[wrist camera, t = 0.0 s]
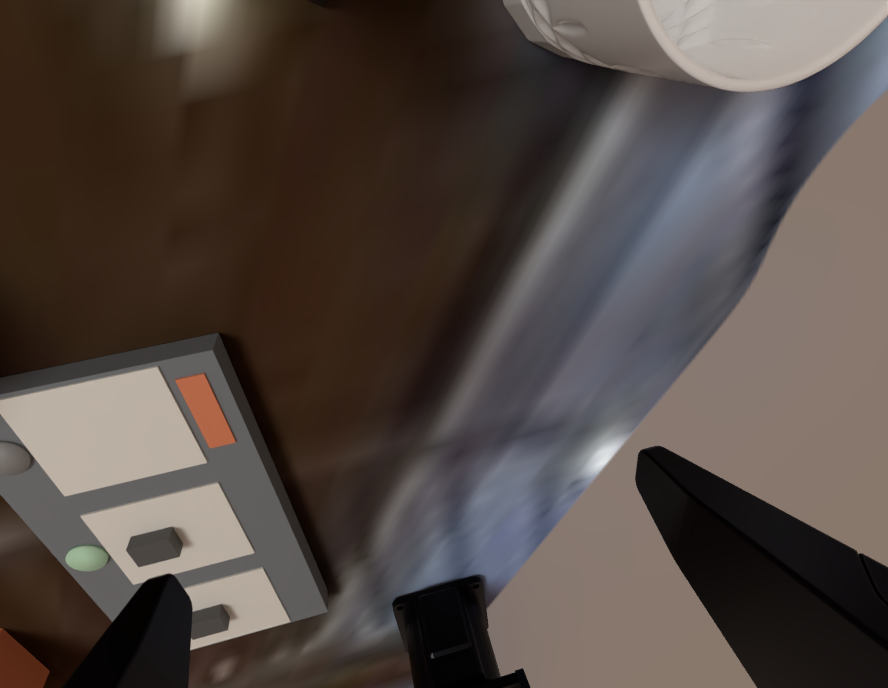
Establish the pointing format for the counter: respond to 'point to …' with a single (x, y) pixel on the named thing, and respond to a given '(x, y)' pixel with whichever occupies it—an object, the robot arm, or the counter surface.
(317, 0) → the phone stand
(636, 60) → the white cup
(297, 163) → the counter surface
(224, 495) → the breaker panel
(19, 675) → the block
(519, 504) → the counter surface
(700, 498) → the robot arm
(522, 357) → the counter surface
